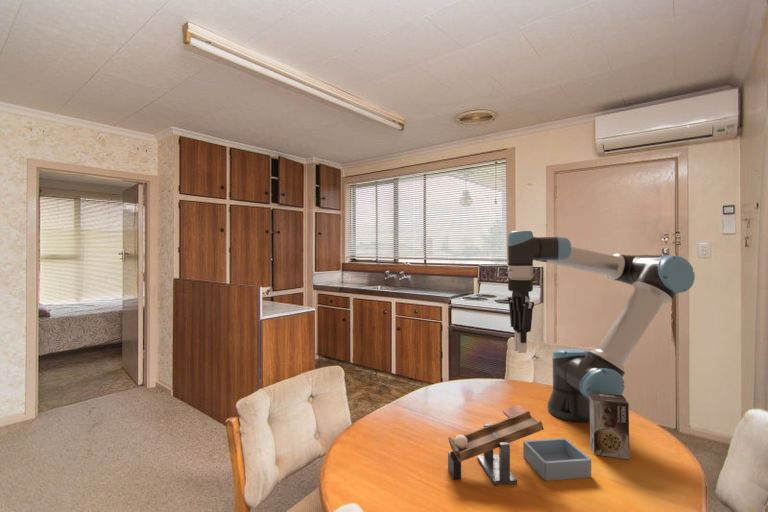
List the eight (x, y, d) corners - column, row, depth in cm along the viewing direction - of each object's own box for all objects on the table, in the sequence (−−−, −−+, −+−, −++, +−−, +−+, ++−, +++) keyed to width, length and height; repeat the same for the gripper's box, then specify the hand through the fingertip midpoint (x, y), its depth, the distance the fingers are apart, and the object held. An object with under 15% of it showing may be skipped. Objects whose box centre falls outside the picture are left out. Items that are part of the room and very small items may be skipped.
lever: (518, 407, 112) (515, 398, 111) (545, 431, 97) (542, 420, 97) (444, 436, 109) (441, 426, 109) (460, 464, 94) (456, 453, 94)
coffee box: (623, 449, 111) (623, 394, 111) (630, 460, 105) (630, 403, 104) (589, 444, 114) (588, 391, 114) (593, 454, 108) (593, 399, 107)
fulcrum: (497, 457, 106) (497, 422, 106) (517, 483, 94) (517, 444, 94) (444, 461, 104) (444, 426, 104) (457, 488, 93) (457, 448, 92)
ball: (466, 443, 101) (463, 430, 101) (470, 450, 97) (468, 437, 97) (453, 446, 100) (451, 433, 100) (457, 453, 97) (455, 440, 97)
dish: (565, 453, 108) (565, 437, 108) (592, 477, 97) (592, 459, 97) (522, 456, 107) (522, 440, 107) (544, 480, 95) (544, 463, 95)
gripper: (499, 277, 127) (499, 346, 127) (519, 280, 113) (520, 358, 113) (520, 277, 128) (520, 345, 128) (543, 280, 114) (543, 357, 114)
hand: (520, 351), depth 121 cm, fingers closed
